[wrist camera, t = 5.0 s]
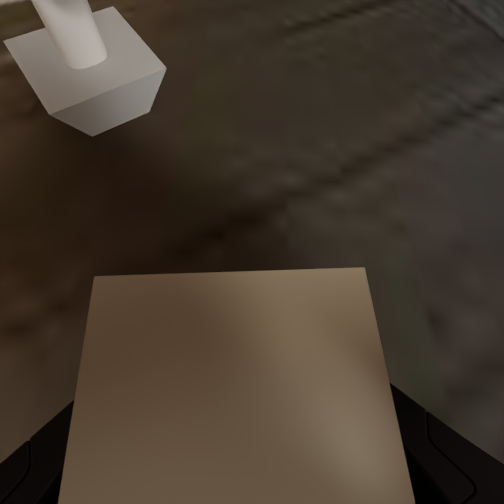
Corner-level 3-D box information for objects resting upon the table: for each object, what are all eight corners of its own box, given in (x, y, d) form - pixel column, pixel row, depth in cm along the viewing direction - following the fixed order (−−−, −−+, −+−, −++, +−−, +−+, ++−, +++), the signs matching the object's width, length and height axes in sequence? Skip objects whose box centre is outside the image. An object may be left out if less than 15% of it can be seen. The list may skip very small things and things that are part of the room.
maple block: (289, 447, 14) (445, 640, 4) (181, 456, 13) (27, 695, 3) (280, 337, 16) (364, 267, 6) (185, 342, 15) (94, 276, 5)
